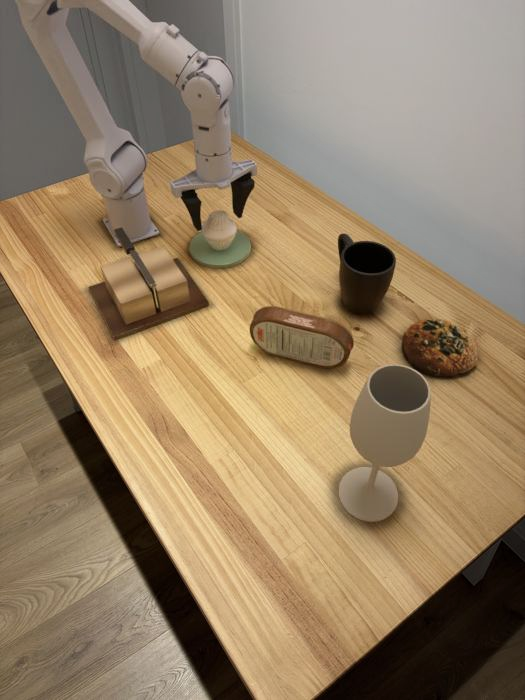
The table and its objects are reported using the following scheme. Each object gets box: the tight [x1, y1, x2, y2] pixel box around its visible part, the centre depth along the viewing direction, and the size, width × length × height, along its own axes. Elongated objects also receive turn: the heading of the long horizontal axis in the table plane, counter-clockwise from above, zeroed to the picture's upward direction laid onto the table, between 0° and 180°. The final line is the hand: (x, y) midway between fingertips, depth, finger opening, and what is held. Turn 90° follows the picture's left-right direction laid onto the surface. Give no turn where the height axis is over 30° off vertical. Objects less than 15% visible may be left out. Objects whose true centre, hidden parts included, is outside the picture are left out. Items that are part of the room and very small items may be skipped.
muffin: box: [201, 209, 238, 251], centre depth 96 cm, size 6×6×7 cm
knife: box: [114, 227, 159, 309], centre depth 90 cm, size 16×1×5 cm, turn 29°
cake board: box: [87, 245, 210, 341], centre depth 89 cm, size 13×16×5 cm
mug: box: [337, 232, 397, 316], centre depth 87 cm, size 8×12×10 cm
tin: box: [249, 305, 355, 369], centre depth 79 cm, size 15×3×8 cm, turn 71°
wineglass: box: [338, 363, 432, 523], centre depth 60 cm, size 8×8×21 cm
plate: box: [188, 229, 252, 269], centre depth 99 cm, size 11×11×1 cm
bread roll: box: [401, 318, 479, 377], centre depth 82 cm, size 11×11×5 cm
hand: (217, 221), depth 95 cm, fingers open, 7 cm apart
